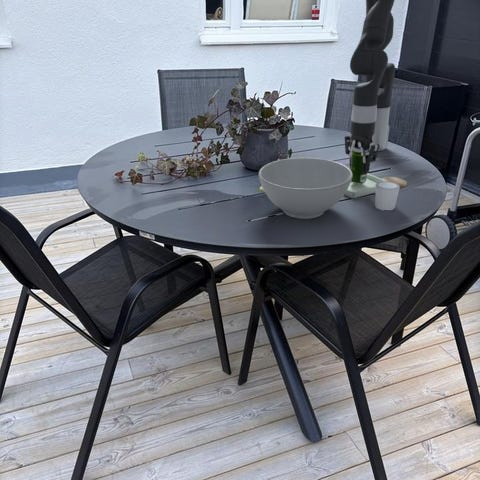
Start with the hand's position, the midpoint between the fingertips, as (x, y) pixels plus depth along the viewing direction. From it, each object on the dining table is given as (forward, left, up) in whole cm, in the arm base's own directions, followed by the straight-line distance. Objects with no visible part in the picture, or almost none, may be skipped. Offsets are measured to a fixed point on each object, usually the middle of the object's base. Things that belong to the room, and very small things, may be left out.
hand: (358, 170), depth 151 cm
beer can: (0, 0, -4) cm, 4 cm away
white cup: (+4, +17, -6) cm, 18 cm away
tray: (0, 0, -6) cm, 6 cm away
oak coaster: (-12, +4, -6) cm, 14 cm away
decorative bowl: (+26, +6, -6) cm, 27 cm away
